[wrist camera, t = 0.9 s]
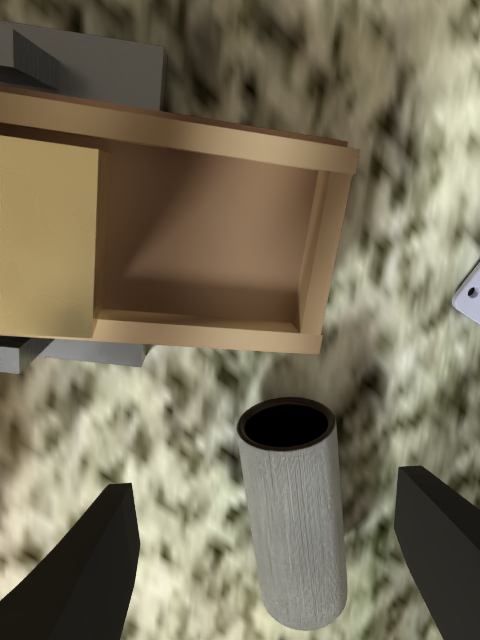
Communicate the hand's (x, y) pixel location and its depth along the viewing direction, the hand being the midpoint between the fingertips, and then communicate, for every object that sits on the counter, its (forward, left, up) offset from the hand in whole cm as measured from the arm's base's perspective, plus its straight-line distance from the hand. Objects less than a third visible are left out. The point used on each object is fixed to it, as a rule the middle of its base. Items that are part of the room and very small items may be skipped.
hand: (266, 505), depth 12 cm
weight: (-2, -10, -6) cm, 12 cm away
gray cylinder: (+9, +9, -8) cm, 15 cm away
